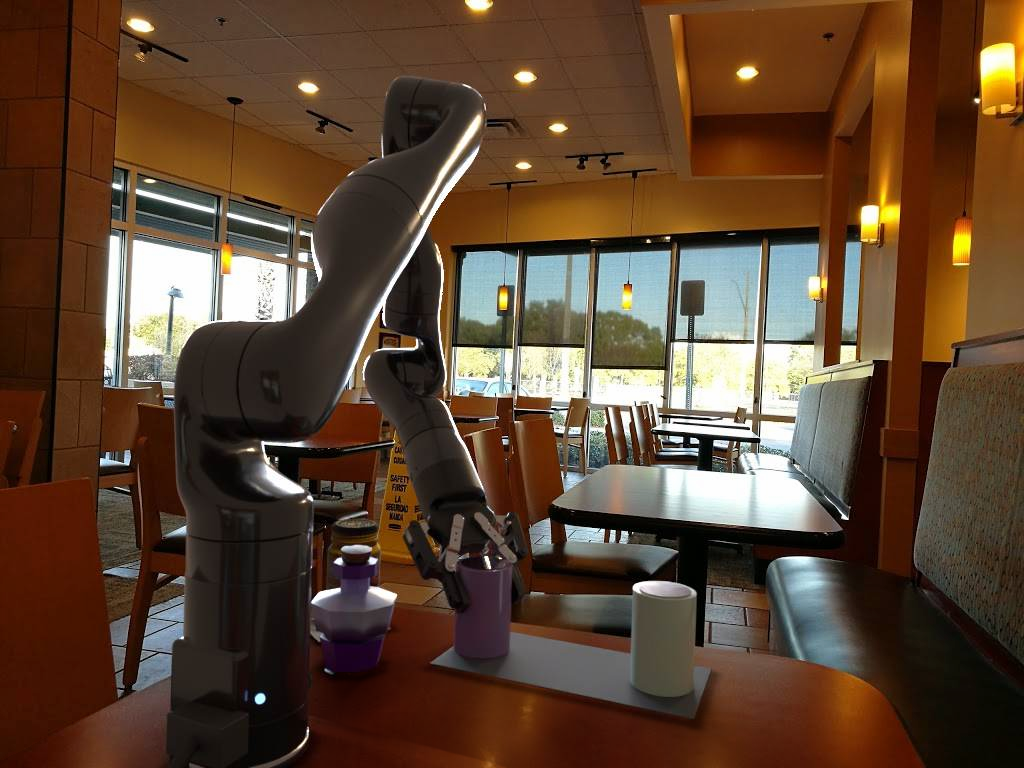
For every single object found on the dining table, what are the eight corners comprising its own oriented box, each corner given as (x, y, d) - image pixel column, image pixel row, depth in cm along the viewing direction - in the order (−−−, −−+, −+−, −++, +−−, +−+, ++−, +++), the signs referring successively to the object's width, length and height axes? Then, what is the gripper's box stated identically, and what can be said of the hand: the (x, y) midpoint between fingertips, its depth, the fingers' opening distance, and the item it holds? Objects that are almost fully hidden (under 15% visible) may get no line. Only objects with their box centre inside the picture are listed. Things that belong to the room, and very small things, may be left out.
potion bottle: (341, 645, 78) (345, 534, 78) (412, 659, 75) (415, 543, 75) (289, 675, 70) (292, 551, 70) (365, 692, 67) (369, 562, 67)
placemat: (693, 725, 63) (693, 718, 63) (429, 669, 73) (429, 663, 73) (711, 674, 74) (712, 668, 74) (480, 631, 84) (480, 625, 84)
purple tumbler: (496, 663, 73) (498, 573, 73) (443, 652, 76) (446, 565, 75) (518, 643, 79) (521, 559, 79) (469, 633, 81) (471, 552, 81)
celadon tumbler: (687, 702, 66) (691, 602, 66) (622, 689, 68) (626, 592, 68) (697, 677, 71) (701, 585, 71) (637, 666, 74) (640, 576, 74)
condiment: (391, 630, 83) (394, 525, 83) (318, 643, 79) (321, 532, 78) (366, 611, 89) (369, 514, 89) (298, 622, 85) (301, 520, 84)
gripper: (396, 458, 79) (442, 596, 70) (507, 453, 87) (563, 577, 77) (376, 498, 84) (417, 633, 74) (484, 490, 92) (534, 612, 82)
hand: (491, 604), depth 76 cm, fingers closed on purple tumbler, 6 cm apart
